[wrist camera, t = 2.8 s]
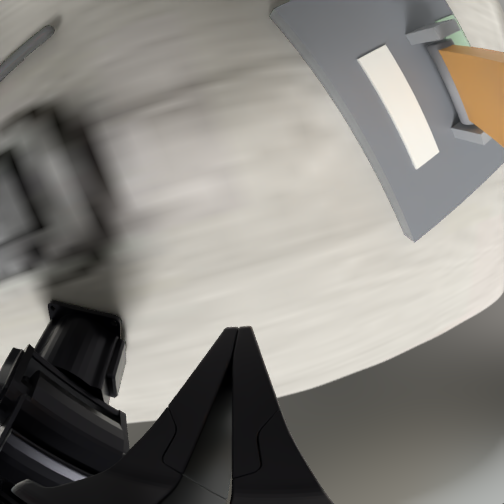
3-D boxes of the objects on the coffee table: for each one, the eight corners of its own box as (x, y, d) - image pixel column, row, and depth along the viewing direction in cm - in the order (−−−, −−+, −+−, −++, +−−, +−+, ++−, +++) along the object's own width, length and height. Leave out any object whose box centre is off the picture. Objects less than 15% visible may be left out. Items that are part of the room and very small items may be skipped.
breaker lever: (456, 119, 15) (543, 200, 7) (422, 46, 13) (515, 64, 5) (477, 110, 14) (572, 185, 6) (444, 38, 12) (548, 53, 4)
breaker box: (404, 234, 21) (438, 261, 17) (269, 16, 13) (286, -11, 9) (497, 153, 18) (533, 166, 14) (405, -35, 11) (439, -53, 7)
